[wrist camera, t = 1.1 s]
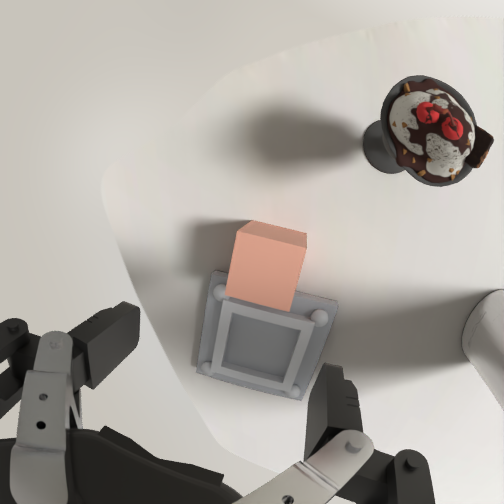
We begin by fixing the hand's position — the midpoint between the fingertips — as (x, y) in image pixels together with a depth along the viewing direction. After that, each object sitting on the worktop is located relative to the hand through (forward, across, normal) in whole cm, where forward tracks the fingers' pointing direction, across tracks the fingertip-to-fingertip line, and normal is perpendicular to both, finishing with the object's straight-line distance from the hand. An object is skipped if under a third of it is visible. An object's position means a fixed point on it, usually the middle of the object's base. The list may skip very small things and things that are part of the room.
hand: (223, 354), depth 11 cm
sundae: (+16, -8, -12) cm, 22 cm away
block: (+16, 0, 0) cm, 16 cm away
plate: (+16, -1, +9) cm, 18 cm away
